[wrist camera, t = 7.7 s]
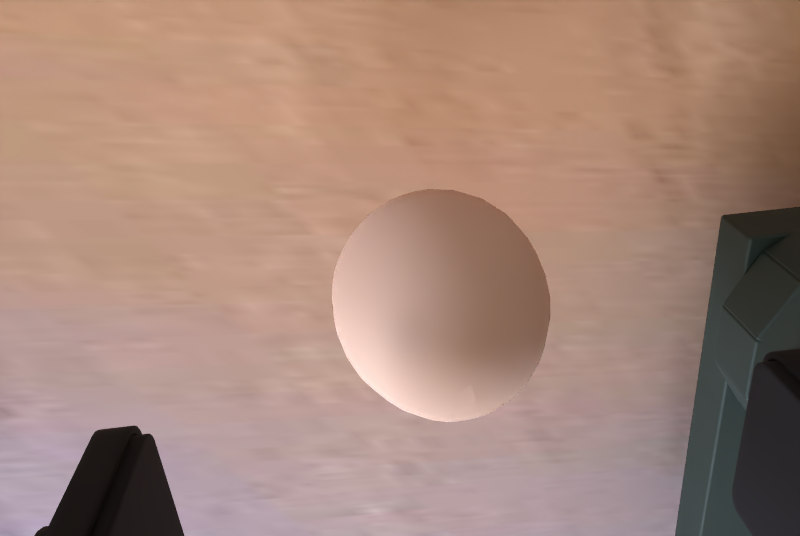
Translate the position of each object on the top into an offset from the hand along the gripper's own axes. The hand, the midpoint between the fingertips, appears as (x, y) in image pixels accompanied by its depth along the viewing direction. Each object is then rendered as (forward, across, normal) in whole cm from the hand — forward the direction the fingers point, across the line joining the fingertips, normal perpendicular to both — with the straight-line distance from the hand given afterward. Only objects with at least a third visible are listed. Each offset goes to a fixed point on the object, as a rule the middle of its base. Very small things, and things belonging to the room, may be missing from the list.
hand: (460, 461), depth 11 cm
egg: (+7, 0, 0) cm, 7 cm away
